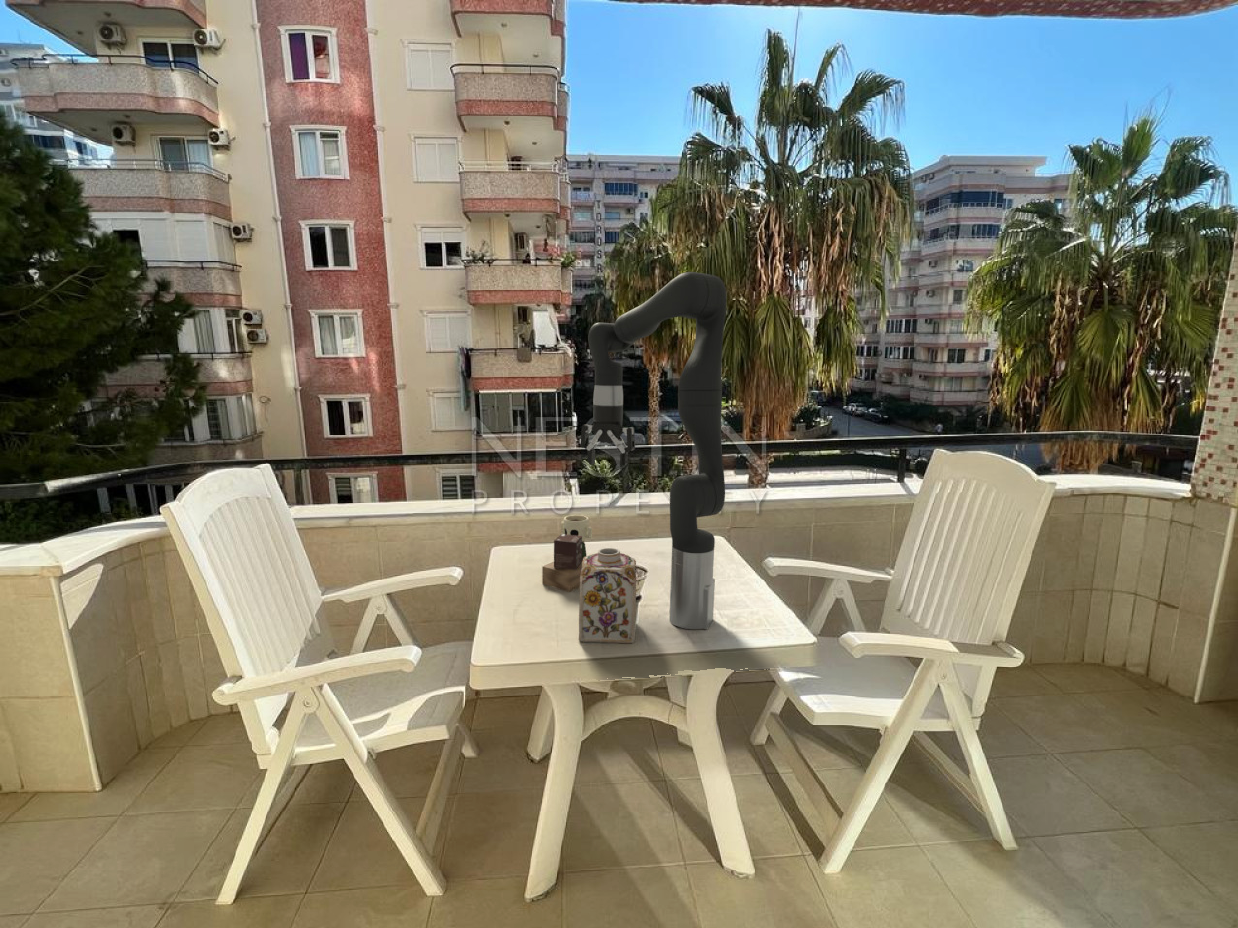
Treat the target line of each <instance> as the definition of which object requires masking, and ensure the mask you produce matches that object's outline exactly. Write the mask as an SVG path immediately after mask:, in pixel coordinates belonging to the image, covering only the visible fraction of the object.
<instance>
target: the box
mask: <svg viewBox="0 0 1238 928" xmlns="http://www.w3.org/2000/svg"><path fill="white" fill-rule="evenodd" d="M553 562H554V568H565V569H577V568H578V567H579V565H580V564H581V563H582V536H577V535H564V534H563V533H562V534H560V535H558V536H557V537H556V538H555V539H554V541H553Z"/></svg>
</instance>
